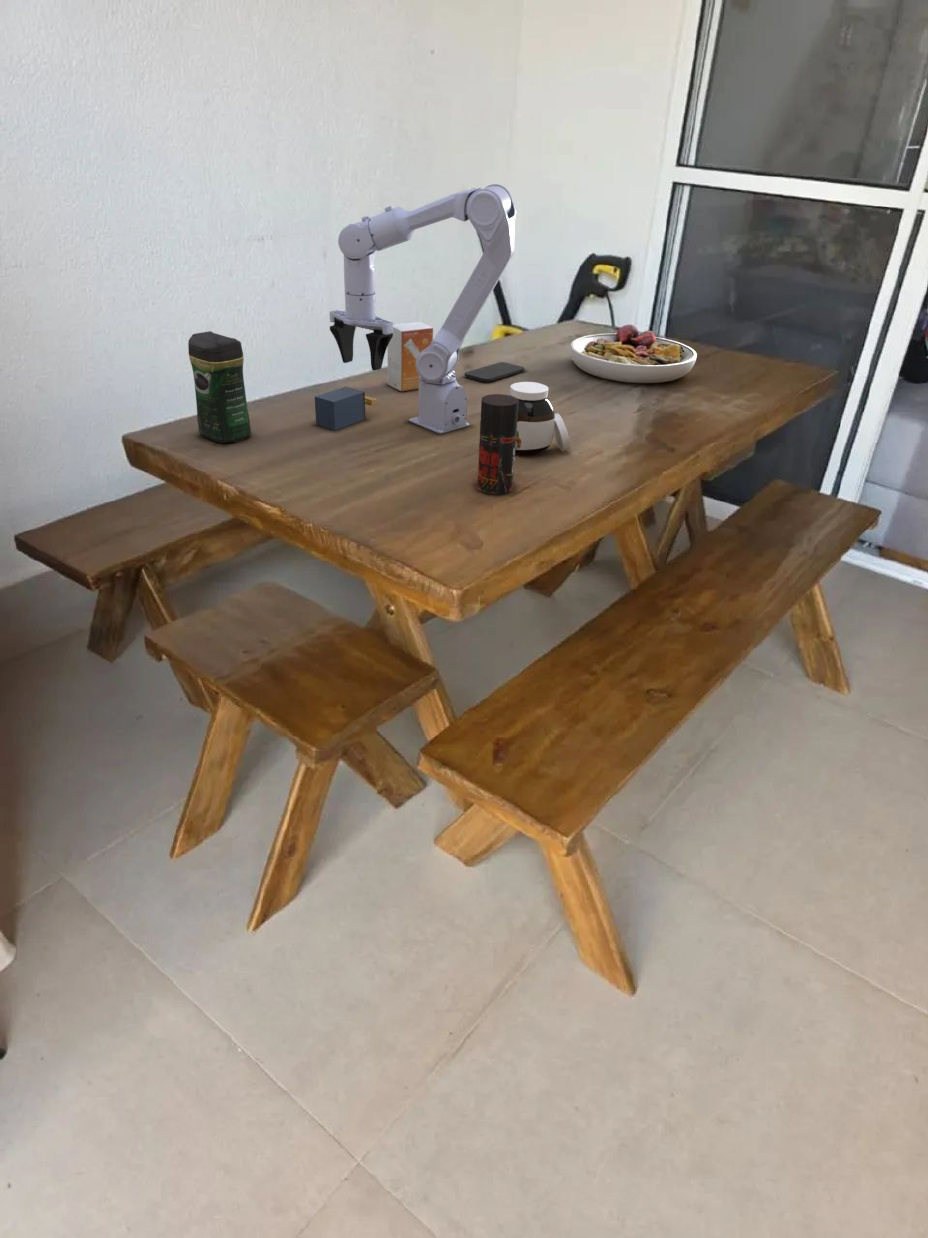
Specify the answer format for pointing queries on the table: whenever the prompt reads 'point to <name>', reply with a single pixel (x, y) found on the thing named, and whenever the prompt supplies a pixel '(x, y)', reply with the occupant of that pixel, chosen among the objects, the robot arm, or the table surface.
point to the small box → (407, 354)
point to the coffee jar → (219, 387)
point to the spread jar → (537, 420)
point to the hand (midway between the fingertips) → (362, 365)
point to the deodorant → (497, 443)
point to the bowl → (632, 356)
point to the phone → (494, 371)
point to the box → (341, 407)
